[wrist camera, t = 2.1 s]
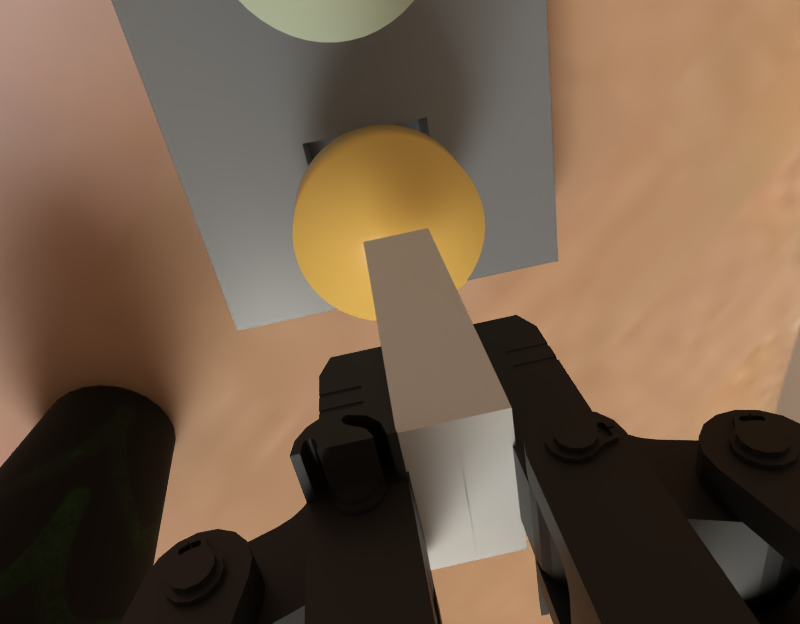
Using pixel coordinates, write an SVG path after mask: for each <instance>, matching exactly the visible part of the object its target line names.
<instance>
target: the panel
mask: <svg viewBox="0 0 800 624" xmlns="http://www.w3.org/2000/svg"><path fill="white" fill-rule="evenodd" d="M111 1H112V3H113V6H114V9H115V11H116V14H117V16H118V19H119V22H120V24H121V27H122V29H123V32H124V35H125V37H126V40H127V43H128V45H129V48H130V50H131V53H132V56H133V58H134V61H135V64H136V66H137V69H138V71H139V74H140V77H141V79H142V82H143V84H144V87H145V90H146V92H147V95H148V98H149V100H150V103H151V105H152V108H153V111H154V113H155V116H156V119H157V121H158V124H159V126H160V129H161V132H162V134H163V137H164V139H165V142H166V145H167V147H168V150H169V153H170V155H171V158H172V160H173V163H174V166H175V168H176V171H177V174H178V176H179V179H180V181H181V184H182V187H183V189H184V192H185V194H186V197H187V200H188V202H189V205H190V208H191V210H192V213H193V215H194V218H195V221H196V223H197V226H198V229H199V231H200V234H201V236H202V239H203V242H204V244H205V247H206V250H207V252H208V255H209V257H210V260H211V263H212V265H213V268H214V270H215V273H216V276H217V278H218V281H219V284H220V286H221V289H222V291H223V294H224V297H225V299H226V302H227V305H228V307H229V310H230V312H231V315H232V318H233V320H234V323H235V325H236V328H237V331H239V330H244V329H249V328H253V327H258V326H262V325H267V324H271V323H276V322H281V321H285V320H290V319H294V318H299V317H303V316H308V315H312V314H317V313H322V312H326V311H331V310H335V309H337V308H335V307H333V306H332V305H330V304H329V303H328V302H326V301H325V300H324V299H323V298H321V297H320V296H319V295H318V294H317V293H316V292H315V291H314V290H313V289H312V287H311V286H310V284H309V283H308V282H307V280H306V279H305V277H304V275H303V273H302V272H301V270H300V267H299V265H298V262H297V259H296V256H295V251H294V247H293V235H292V233H293V219H294V210H295V201H296V196H297V191H298V187H299V185H300V182H301V179H302V177H303V175H304V173H305V171H306V169H307V167H308V166H309V164H310V163H311V162H312V160H313V159H314V157H315V156H316V155H317V154H318V153H319V152H320V151H321V150H322V149H323V148H324V147H325V146H327V145H328V144H329V143H330V142H332V141H333V140H335V139H336V138H338V137H340V136H341V135H343V134H345V133H348V132H350V131H352V130H355V129H359V128H362V127H366V126H372V125H398V126H404V127H408V128H411V129H415V130H417V131H419V132H422V133H424V134H426V135H428V136H429V137H431V138H433V139H434V140H436V141H437V142H438V143H440V144H441V145H442V146H443V147H444V148H445V149H446V150H447V151H448V152H449V153H450V154H451V155H452V156H453V157H454V159H455V160H456V161H457V162H458V164H459V165H460V166H461V167H462V169H463V170H464V171H465V172H466V174H467V175H468V177H469V178H470V179H471V181H472V182H473V184H474V186H475V188H476V190H477V192H478V194H479V197H480V200H481V203H482V206H483V212H484V217H485V234H484V242H483V247H482V251H481V254H480V257H479V259H478V262H477V264H476V266H475V268H474V270H473V272H472V273H471V275H470V276H469V278H468V279H467V281H468V280H472V279H477V278H481V277H486V276H491V275H495V274H500V273H504V272H509V271H513V270H518V269H522V268H527V267H532V266H536V265H541V264H545V263H550V262H554V261H558V249H557V227H556V204H555V182H554V160H553V138H552V115H551V93H550V71H549V49H548V26H547V4H546V0H414V1H413V2H412V3H411V4H410V5H409V7H408V8H407V9H406V10H405V11H404V12H403V13H402V14H400V15H399V16H398V17H397V18H396V19H395V20H393V21H392V22H391V23H389V24H388V25H386V26H384V27H383V28H381V29H380V30H378V31H376V32H373V33H371V34H369V35H367V36H364V37H361V38H357V39H354V40H350V41H343V42H315V41H309V40H304V39H300V38H297V37H294V36H290V35H288V34H286V33H284V32H281V31H279V30H277V29H275V28H273V27H272V26H270V25H268V24H267V23H265V22H263V21H262V20H260V19H259V18H258V17H257V16H255V15H254V14H253V13H252V12H250V11H249V10H248V9H247V8H246V7H245V6H244V5H243V4H242V3H241V2H240V1H239V0H111Z"/></svg>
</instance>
